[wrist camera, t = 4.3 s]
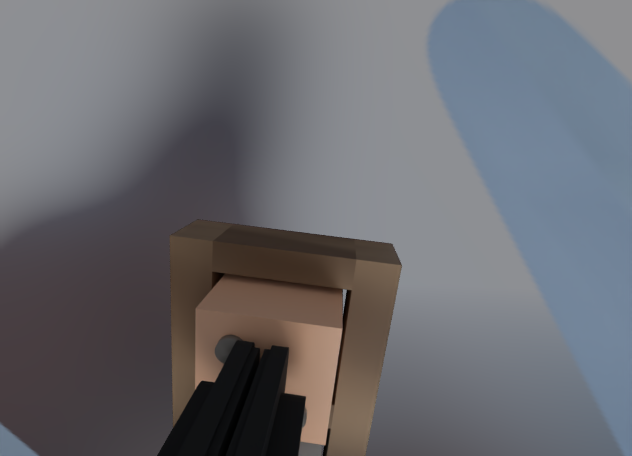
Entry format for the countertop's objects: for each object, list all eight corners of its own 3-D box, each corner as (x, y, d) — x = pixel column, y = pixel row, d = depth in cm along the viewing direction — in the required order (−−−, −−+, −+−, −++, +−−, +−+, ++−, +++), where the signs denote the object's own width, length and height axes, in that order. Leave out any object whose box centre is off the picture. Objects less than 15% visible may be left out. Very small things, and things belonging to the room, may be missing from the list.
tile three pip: (329, 372, 15) (324, 453, 11) (228, 358, 15) (190, 432, 11) (342, 279, 14) (342, 334, 10) (232, 264, 14) (191, 313, 10)
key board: (333, 568, 20) (332, 626, 17) (195, 544, 20) (176, 598, 18) (392, 243, 14) (401, 265, 12) (197, 219, 14) (169, 235, 12)
